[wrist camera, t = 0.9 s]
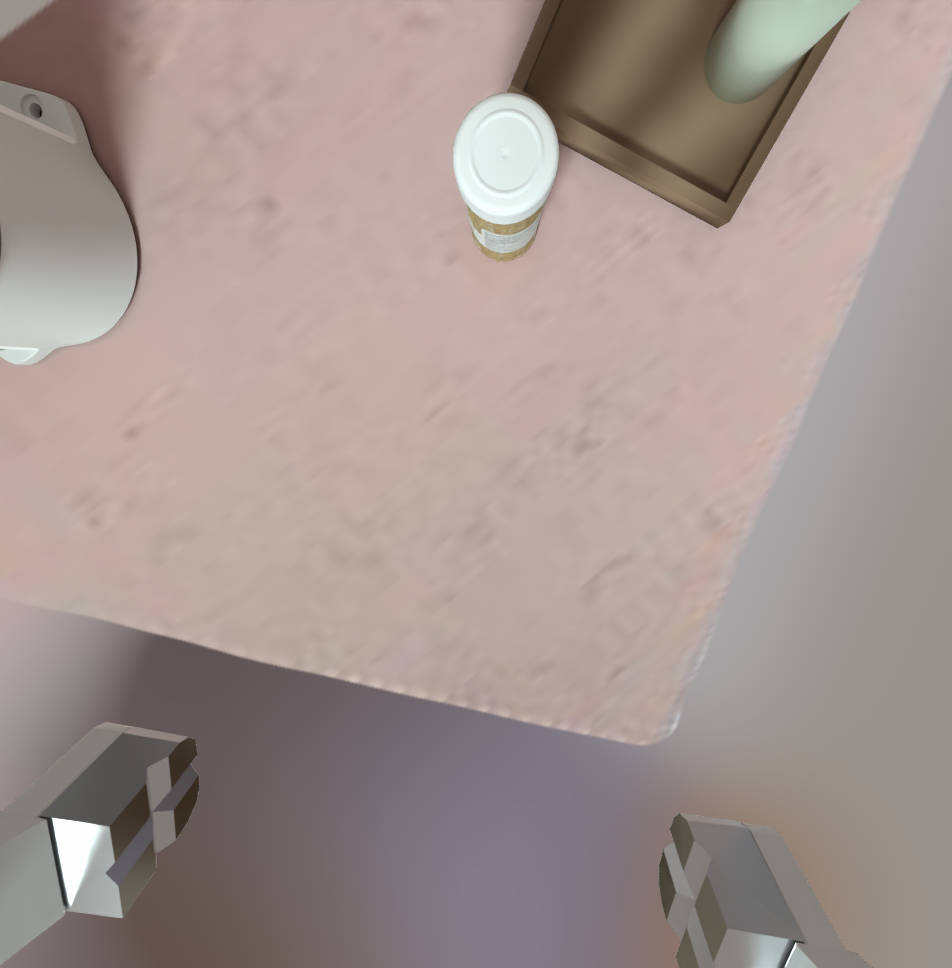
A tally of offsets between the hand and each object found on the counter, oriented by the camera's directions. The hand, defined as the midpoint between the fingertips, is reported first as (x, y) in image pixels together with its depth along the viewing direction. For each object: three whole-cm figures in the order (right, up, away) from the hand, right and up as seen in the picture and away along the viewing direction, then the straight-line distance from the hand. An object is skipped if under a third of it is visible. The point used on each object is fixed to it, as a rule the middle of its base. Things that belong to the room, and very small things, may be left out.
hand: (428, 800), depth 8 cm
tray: (+12, +31, +22) cm, 40 cm away
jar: (+17, +31, +20) cm, 41 cm away
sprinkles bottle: (+3, +23, +25) cm, 34 cm away
